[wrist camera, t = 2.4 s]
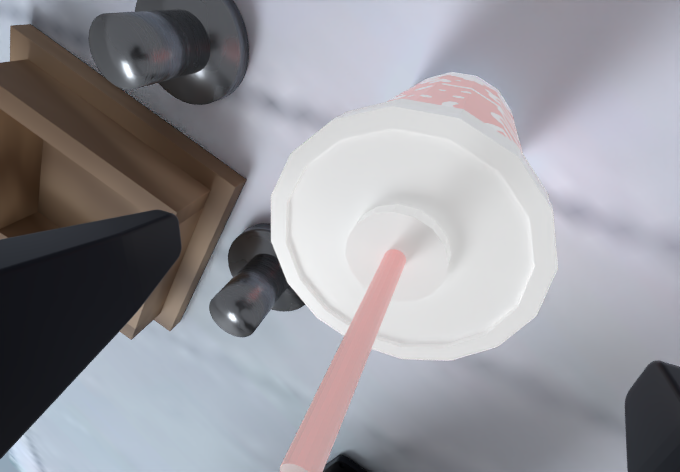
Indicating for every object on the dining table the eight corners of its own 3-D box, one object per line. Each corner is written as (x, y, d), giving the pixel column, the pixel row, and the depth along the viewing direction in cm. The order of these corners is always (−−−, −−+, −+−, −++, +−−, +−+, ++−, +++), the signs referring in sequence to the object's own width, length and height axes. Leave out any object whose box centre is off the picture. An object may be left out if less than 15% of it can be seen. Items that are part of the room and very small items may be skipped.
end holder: (179, 321, 28) (142, 358, 25) (22, 208, 28) (-33, 233, 25) (246, 179, 20) (203, 210, 18) (30, 24, 20) (-48, 29, 18)
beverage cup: (558, 178, 16) (680, 686, 4) (409, 223, 19) (245, 589, 7) (504, 13, 14) (462, 127, 2) (348, 94, 17) (-1, 312, 5)
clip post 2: (295, 317, 24) (257, 374, 20) (224, 266, 24) (174, 314, 20) (336, 263, 21) (299, 318, 18) (255, 205, 21) (203, 249, 18)
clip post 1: (226, 122, 19) (160, 152, 16) (138, 59, 19) (52, 74, 16) (266, 18, 16) (197, 26, 13) (162, -56, 16) (64, -70, 13)
